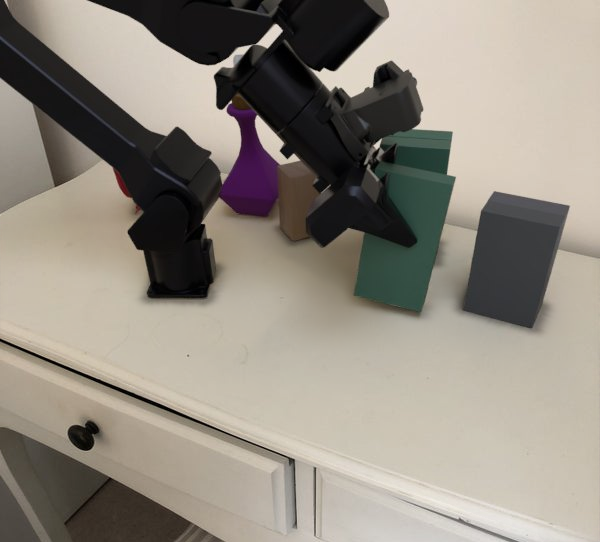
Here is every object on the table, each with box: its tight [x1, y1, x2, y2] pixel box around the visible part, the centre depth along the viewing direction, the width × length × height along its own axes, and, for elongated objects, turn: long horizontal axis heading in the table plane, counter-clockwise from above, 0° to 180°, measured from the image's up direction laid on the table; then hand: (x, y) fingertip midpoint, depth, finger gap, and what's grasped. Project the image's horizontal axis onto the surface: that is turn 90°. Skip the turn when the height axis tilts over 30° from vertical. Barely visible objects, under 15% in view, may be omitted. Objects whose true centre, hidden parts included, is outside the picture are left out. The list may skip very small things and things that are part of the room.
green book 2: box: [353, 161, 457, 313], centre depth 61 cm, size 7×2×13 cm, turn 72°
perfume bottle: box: [219, 53, 281, 218], centre depth 77 cm, size 8×8×18 cm
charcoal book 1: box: [462, 200, 565, 329], centre depth 61 cm, size 7×2×11 cm, turn 62°
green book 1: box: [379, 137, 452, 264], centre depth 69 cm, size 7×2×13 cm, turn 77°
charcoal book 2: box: [487, 190, 571, 314], centre depth 63 cm, size 7×2×11 cm, turn 62°
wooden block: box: [277, 160, 321, 242], centre depth 76 cm, size 4×4×8 cm
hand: (415, 237), depth 61 cm, fingers closed on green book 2, 2 cm apart
